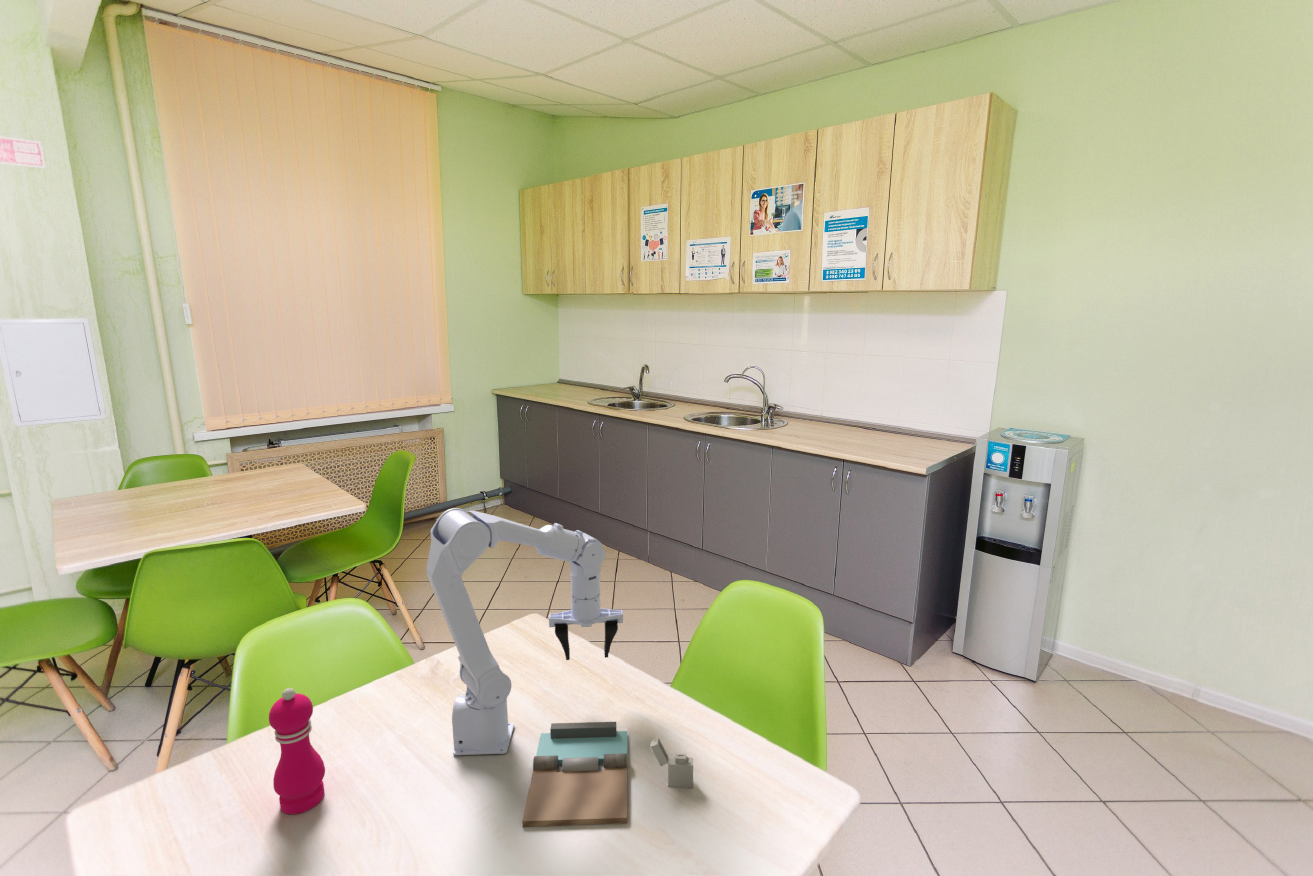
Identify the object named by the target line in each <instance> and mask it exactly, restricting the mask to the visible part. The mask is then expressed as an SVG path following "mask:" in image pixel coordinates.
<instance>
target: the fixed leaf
mask: <svg viewBox="0 0 1313 876" xmlns="http://www.w3.org/2000/svg"><path fill="white" fill-rule="evenodd" d="M532 761H533V762H532V774H531V778H530V783H529V788H528V793H527V798H526V802H525V808H524V812H523V817H522V820H521V821H522V828H526V827H529V828H530V827H531V828H532V827H553V826H554V827H556V826H559V827H560V826H561V827H562V826H582V825H583V826H584V825H585V826H586V825H613V824H615V825H616V824H627V823H628V752H627V753H623V754H604V763H603V770H598V771H570V772H562V771H558V770H559V769H558V768H559V765H558V756H536V755H534V756H533V760H532Z"/></svg>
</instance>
